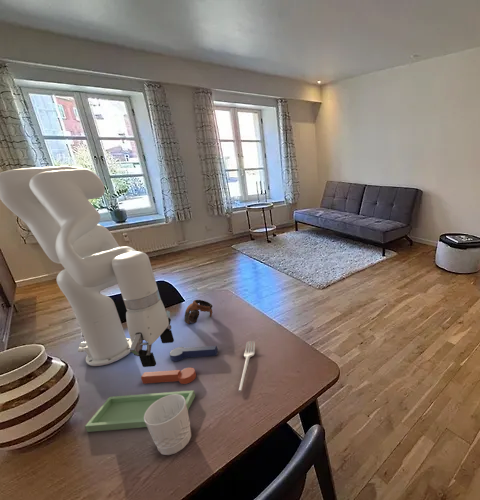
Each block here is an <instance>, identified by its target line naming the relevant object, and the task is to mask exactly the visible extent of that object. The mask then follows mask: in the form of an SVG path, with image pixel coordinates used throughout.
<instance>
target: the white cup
mask: <svg viewBox="0 0 480 500" xmlns="http://www.w3.org/2000/svg"><path fill="white" fill-rule="evenodd" d="M144 421H145V423H146V426H147V427H146V428H147V430H148V432H149V434H150V437H151V439H152V441H153V443H154V445H155V446H156V449H157V451H158V452H159V453H160V454H161V455H165V456H170V455H174V454H177V453H179V452H180V451H181V450H183V449H184V448H186V446H187V445H188V444H189V442H190V441H191V438H192V430H191V429H192V428H191V421H190V417H189V409H188V410H187V405H186V400H185V398H184V397H183V396H182V395H179V394H172V395H168V396H165V397H162V398H160V399H158V400H157V401H155V402H154V403H153V404H152V405H150V407H149V408H148V409H147V410H146V412H145V414H144Z"/></svg>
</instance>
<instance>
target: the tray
mask: <svg viewBox="0 0 480 500" xmlns="http://www.w3.org/2000/svg"><path fill="white" fill-rule="evenodd" d="M172 394H179V395H182V396H183V397H184V398H185V400H186V405H187V410H188V411H189V409H190V407H191V405H192V404H193V401H194V399H195V397H196V393H195V390H181V391H179V390H178V391H168V392H166V391H165V392H154V393H141V394H127V395H116V396H115V395H114V396H109V397H108V398H107V399H106V400H105V401H104V403H103V404H102V405H101V406H100V407H99V408H98V410H97V411H96V412H95V413H94V414H93V416H92V417H91V418H90V419H89V421H88V422H87V423H86V424H85V426H84V428H85V430H86V432H87V433H91V432H92V433H93V432H103V431H105V432H106V431H117V430H126V429H127V430H129V429H139V428H141V429H142V428H147V426H146V423H145V421H144V414H145V412H146V410H147V409H148V408H149V407H150V405H152V404H153V403H154V402H155V401H157V400H158V399H160V398H162V397H165V396H168V395H172Z"/></svg>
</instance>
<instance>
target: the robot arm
mask: <svg viewBox="0 0 480 500" xmlns="http://www.w3.org/2000/svg"><path fill="white" fill-rule="evenodd" d="M105 189H106V188H105V185H104V182H103V181H102V179H101V177H100V176H99V175H98V174H96V172H94V171H93V170H92V169H91V170H90V169H88V168H84V167H78V166H71V165H59V166H57V165H56V166H43V167H24V168H15V169H9V170H5V171H1V172H0V201H1V203H2V204H3V205H4V206H5V207H6V208H7V209H8V210H10V211H11V212H12V213H13V214H14V215H15V216H17V218H20V220H21V221H22V222H23V223H24V224H25V225H26V227H28V229H29V231H30V232H31V234H32V235H33V237H34V238H35V240H36V241H37V244H38V245H39V247H41V249H42V251H43V253H45V255H46V256H47V257H48V259H49V260H50V261H51V262H52V263H55V264H61V266H62V267H63V269H62V270H61V271H60V272H58V274H57V275H56V284H57V286H58V288H59V290H60V291H61V292H62V294H63V295H64V297H65V298H66V300H67V302H68V303H69V305H70V307H71V309H72V312H73V314H74V316H75V320H76V321H77V324H78V327H79V328H80V331H81V334H82V336H83V338H84V341H81V342H79V345H78V346H79V347H78V349H77V352H78V353H84V352H85V353H86V356H85V362H86V364H87V365H88V366H91V367H100V366H107V365H109V364H112V363H116V362H117V361H120V360H121V359H123V358H125V357H126V356H127V355H129V354H131V353H132V354H133V356H137V357H138V358H139V360H140V363H141V366H142V367H143V368H150V367H156V365H157V361H156V359H155V354H154V352H152V346H153V344H154V343H155V342H157V340H158V339H159V338H160V341H161V344H171V343H174V342H175V339H174V336H173V332H172V325H171V323H172V319H171V311H170V310H166V308H165V305H164V303H163V300H162V298H161V295H160V292H159V291H160V290H159V289H158V284H157V280H156V277H155V274H154V271H153V267H152V264H151V260H150V257H149V255H148V254H147V253H145V252H143V251H137V250H136V249H134V248H133V247H132V246H128V245H127V246H125V245H124V246H120V245H119V243H118V242H117V240H116V239H115V237H114V235H113V234H112V233H111V231H110V230H109V229H108V228H107V227H106V226H104V225H102V224H99V223H100V221H101V213H100V212H99V211H98V210H97V209H96V208H95V207H94V205H93V204H92V202H91V201H90V200H94V199H95V200H96V199H100V198H102V197H103V196H104V194H105V191H106V190H105ZM117 285H118V288H119V291H120V294H121V298H122V300H123V303H124V306H125V309H126V312H125V319H126V326H127V330H128V335H129V337H127V335H126V333H125V329H124V327H123V324H122V321H121V318H120V315H119V312H118V310H117V307H116V304H115V302H114V299H112V298H111V297H110V296H108V295H106V294H103V293H101V292H102V291H104V290H106V289H108V288H111V287H113V286H117ZM144 341H145V342H144ZM144 346H146V348H145V349H143V347H144Z"/></svg>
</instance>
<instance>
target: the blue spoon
mask: <svg viewBox="0 0 480 500" xmlns="http://www.w3.org/2000/svg"><path fill="white" fill-rule="evenodd" d="M218 353H219V349H218V346H217V345H209V346H208V345H207V346H195V347H194V346H192V347H191V346H190V347H185V346H177V347H174V348H173V349H171V350H170V352H169V357H170V360H171V362H178V361H182V360H183V359H189V358H202V357H216V356H217V354H218Z"/></svg>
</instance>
